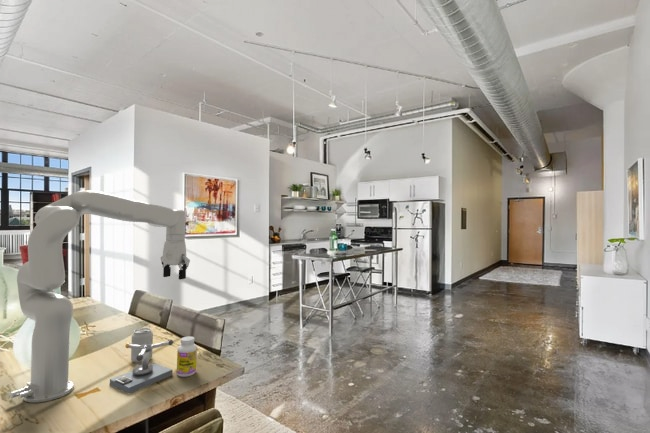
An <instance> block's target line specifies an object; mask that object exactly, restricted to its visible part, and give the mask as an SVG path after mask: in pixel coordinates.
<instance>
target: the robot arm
mask: <svg viewBox="0 0 650 433" xmlns="http://www.w3.org/2000/svg"><path fill="white" fill-rule="evenodd" d="M83 215H92V216H93V215H94V216H98V217H102V218H103V217H104V218H107V219H113V220H118V221H122V222H129V223H131V222H132V223H135V222H136V223H147V224H148V225H149V226H151V227H158V228H165V241H164V244H163V250H162V256H161V257H160V260H161V264H162V268H163V270H162V271H163V273H162V277H164V278H167V277H171V275H172V274H171V271H172V270H171V269H172V268H171V266H178V280H184V279H186V278H187V276H186V275H187V270H188V267H189V265H190V262H191V260H190V258H188V257H187V245H186V211H184V210H183V209H173V208H171V207H166V206H163V205H158V204H153V203H149V202H144V201H140V200H135V199H130V198H127V197H123V196H119V195H114V194H112V193H111V194H110V193H108V192H103V191H101V190H100V191H99V190H93V189H91V190H90V189H89V190H79V191H75V192H72V193H71V194H68V195H66V196H64V197H62V198H60V199H58V200H56V201H54V202H53V201H52V202H51V203H49V204H47V205H45V206H43V207H41V208H40V209H38V211H37V212H36V213H35V215H34V223H35V224H36V226H34V227H33V230H32V231H31V232H30V234H29V237H28V240H27V259H28V261H26V262H25V263H23V264H22V265H21V266H20V268H18V270H17V276H16V283H17V290H18V298H19V305H20V310H21V313H22V314H23V316H25V317H26V318H27V319H29V320H32V321H34V322H35V323H34V328H33V331H32V336H31V356H30V357H31V358H30V359H31V360H30V381H28V382H26V385H25V386H23V387H21V388H19V389H15V390H12V391H10V393H9V396H10V397H9V398H10V399H15V398H17V397H19V399H22V398H23V400H24V401H25V402H26V403H27V402H28V403H35V404H37V403H44V402H48V401H49V402H50V401H54V400H56V399H57V400H58V399H60V398H62V397H64V396H66V395H68V394H70V392H72V391H73V390H74V386H75V385H74V384H75V383H74V382H73V381H71V380H69V368H70V367H69V363H70V362H69V361H70V331H71V324H72V318H73V313H74V306H73V303H72V301H71V300H70V298H68V297H67V296H65V295H62V294H59V293H56V292H55V290H57V289H59V288H60V287H62V286H63V284H64V283H65V281H66V280H65V279H66V271H65V270H66V269H65V263H64V256H63V243H64V241H65V238H66V237H67V235H68V234H69V233H70V232H71V231H73V230H74V229H76V227H77V226H78V225H79V223H80V218H81V217H82V216H83Z"/></svg>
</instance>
